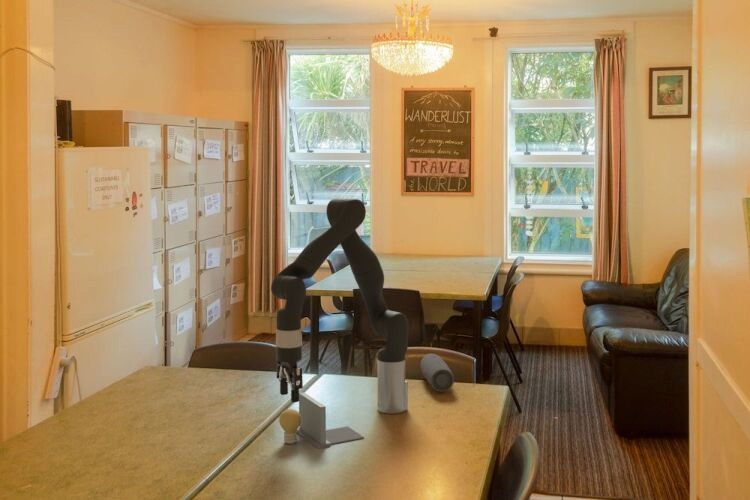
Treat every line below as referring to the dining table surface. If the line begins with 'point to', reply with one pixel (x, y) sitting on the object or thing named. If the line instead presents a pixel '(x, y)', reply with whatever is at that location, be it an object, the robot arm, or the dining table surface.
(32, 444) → the dining table surface
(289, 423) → the yellow light bulb
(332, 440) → the mat
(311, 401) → the screen
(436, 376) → the bluetooth speaker
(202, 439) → the dining table surface
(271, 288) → the robot arm
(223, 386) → the dining table surface
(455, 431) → the dining table surface
